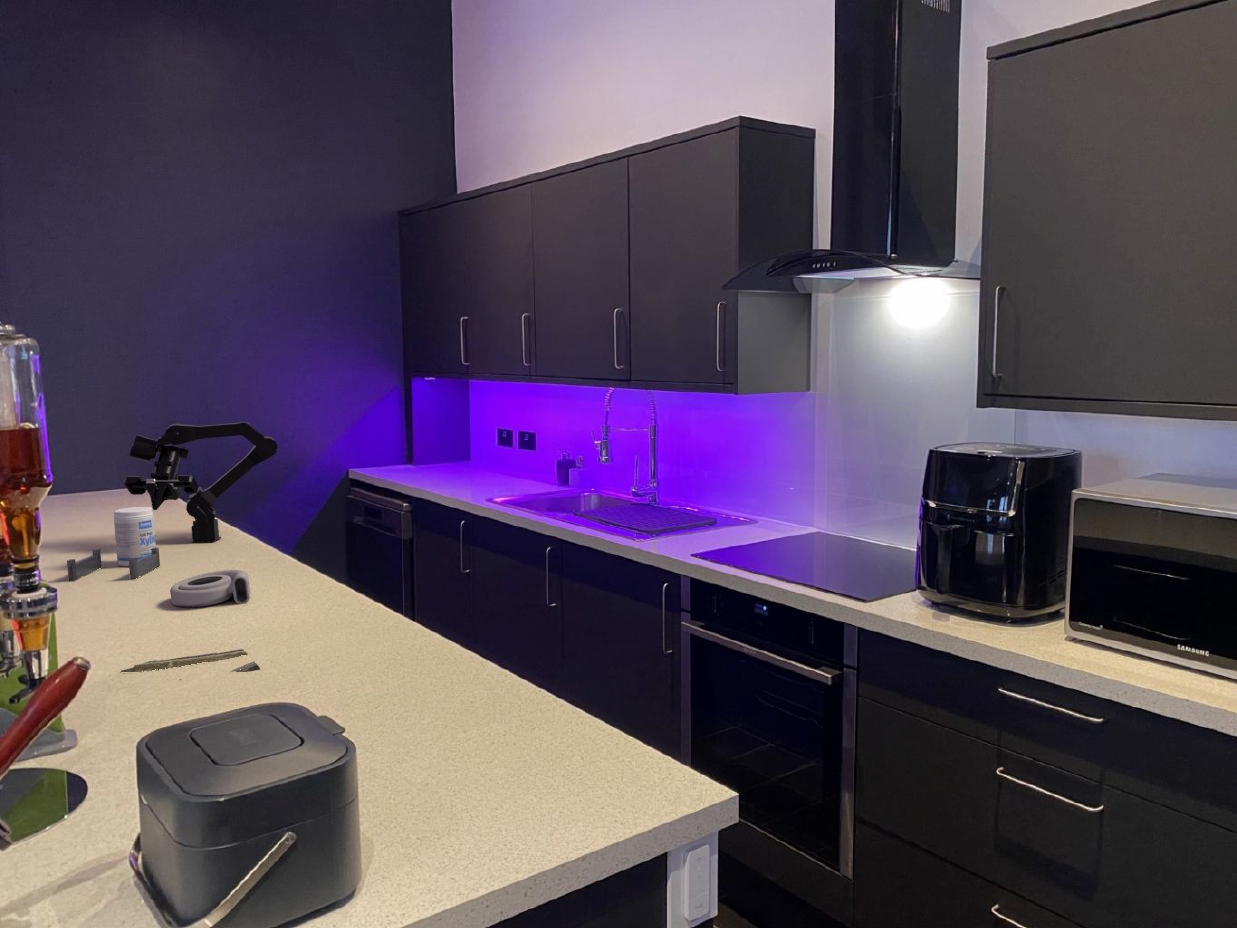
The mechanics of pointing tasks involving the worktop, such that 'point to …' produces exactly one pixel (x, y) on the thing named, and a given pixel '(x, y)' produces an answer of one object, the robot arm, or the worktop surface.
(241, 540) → the worktop surface
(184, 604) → the turbocharger housing
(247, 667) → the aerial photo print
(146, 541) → the supplement tub
